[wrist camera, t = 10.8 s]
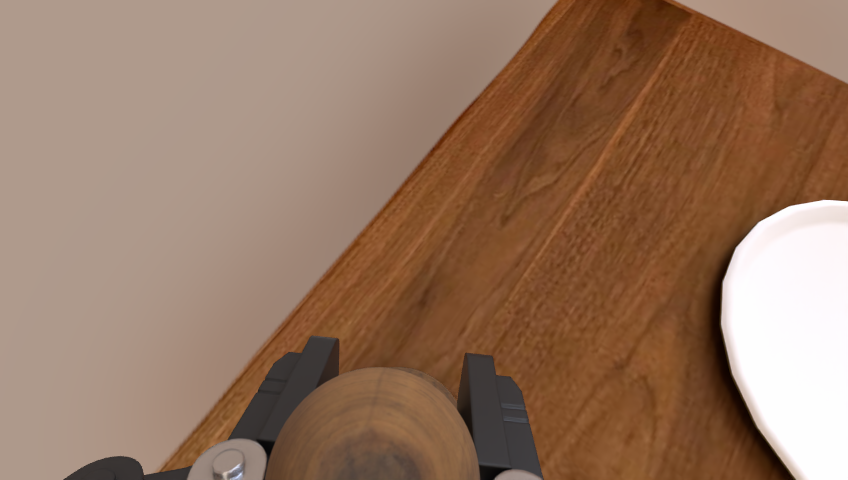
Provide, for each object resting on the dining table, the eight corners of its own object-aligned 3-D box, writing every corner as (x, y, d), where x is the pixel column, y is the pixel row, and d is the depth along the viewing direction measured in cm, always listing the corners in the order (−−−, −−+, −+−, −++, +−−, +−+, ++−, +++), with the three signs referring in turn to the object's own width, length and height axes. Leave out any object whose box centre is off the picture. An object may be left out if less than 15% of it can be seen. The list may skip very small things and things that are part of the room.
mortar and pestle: (456, 367, 23) (585, 223, 6) (469, 504, 20) (755, 888, 4) (334, 375, 22) (126, 245, 6) (332, 517, 20) (-60, 1017, 3)
